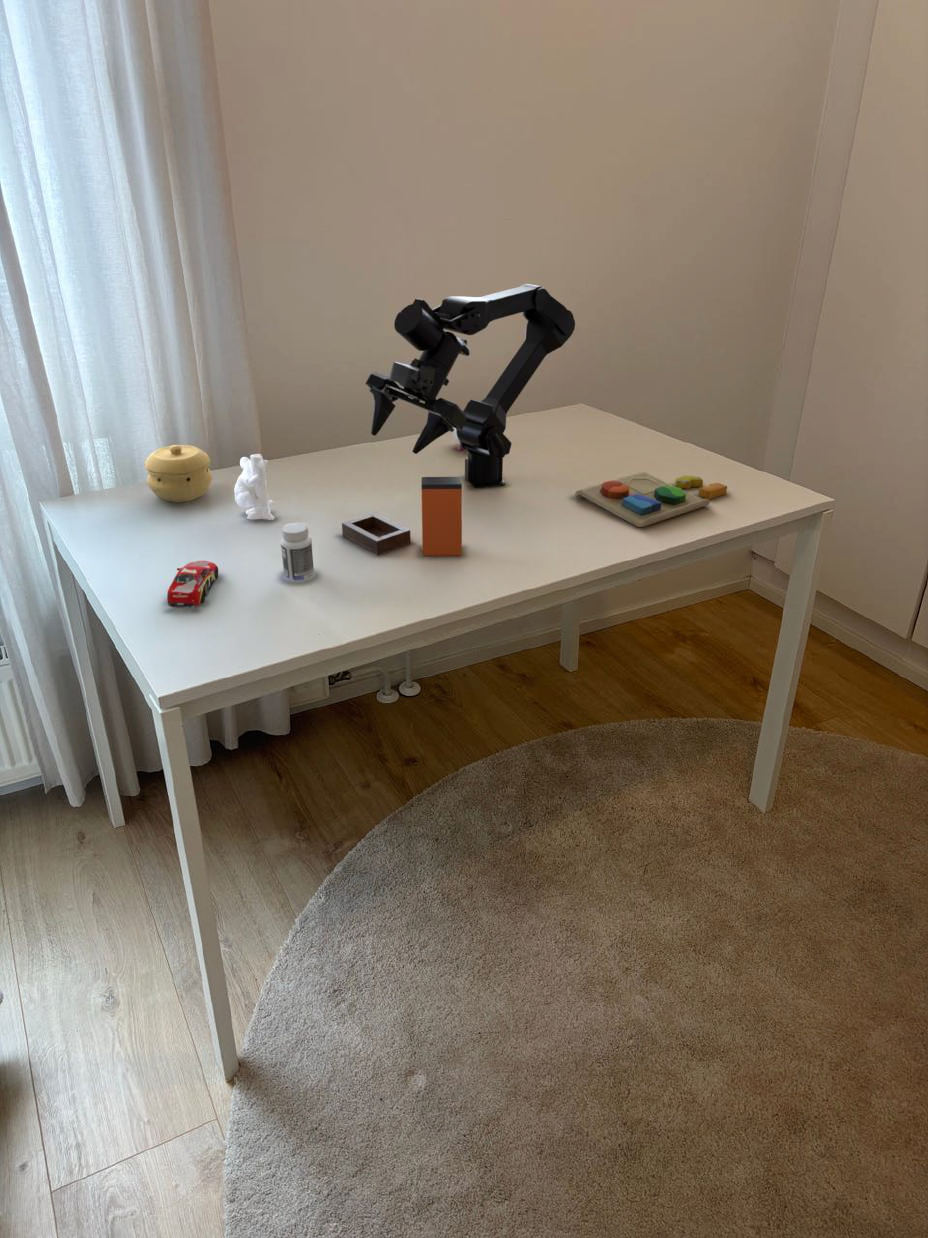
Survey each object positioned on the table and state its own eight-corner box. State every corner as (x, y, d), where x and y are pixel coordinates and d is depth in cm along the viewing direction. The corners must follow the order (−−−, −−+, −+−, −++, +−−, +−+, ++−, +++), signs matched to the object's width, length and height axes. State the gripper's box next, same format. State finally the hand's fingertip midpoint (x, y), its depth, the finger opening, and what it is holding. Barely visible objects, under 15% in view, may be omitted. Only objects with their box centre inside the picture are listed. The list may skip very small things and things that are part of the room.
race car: (189, 572, 152) (186, 549, 150) (223, 573, 152) (220, 550, 150) (162, 611, 140) (158, 587, 139) (198, 612, 140) (195, 588, 138)
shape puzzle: (645, 531, 166) (647, 513, 165) (571, 498, 180) (572, 481, 178) (740, 498, 180) (742, 481, 178) (664, 470, 193) (666, 454, 191)
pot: (202, 480, 187) (195, 431, 182) (224, 500, 178) (217, 448, 173) (141, 493, 181) (133, 442, 176) (161, 513, 172) (153, 460, 167)
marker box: (422, 547, 160) (421, 476, 154) (461, 547, 161) (461, 476, 154) (422, 556, 157) (421, 484, 151) (461, 555, 158) (462, 484, 151)
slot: (375, 525, 168) (374, 512, 167) (410, 543, 162) (410, 530, 160) (342, 536, 164) (341, 522, 163) (377, 555, 158) (376, 541, 156)
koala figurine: (286, 519, 170) (280, 454, 164) (251, 528, 167) (244, 462, 161) (265, 504, 176) (259, 441, 170) (231, 512, 173) (223, 449, 167)
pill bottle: (319, 572, 152) (315, 523, 148) (305, 585, 148) (301, 535, 144) (292, 568, 153) (288, 519, 149) (278, 580, 149) (273, 531, 145)
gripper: (373, 326, 163) (330, 407, 163) (461, 360, 156) (417, 445, 155) (400, 356, 174) (360, 432, 173) (484, 389, 166) (443, 468, 166)
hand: (393, 443), depth 167 cm, fingers open, 9 cm apart
